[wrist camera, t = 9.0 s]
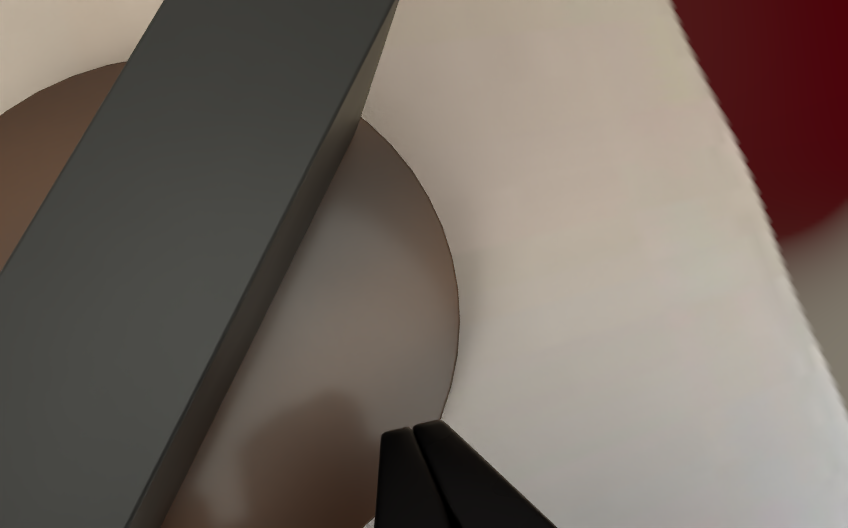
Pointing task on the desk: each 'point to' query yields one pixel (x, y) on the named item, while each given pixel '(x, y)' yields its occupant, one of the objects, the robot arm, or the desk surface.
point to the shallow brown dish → (294, 329)
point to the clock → (169, 249)
